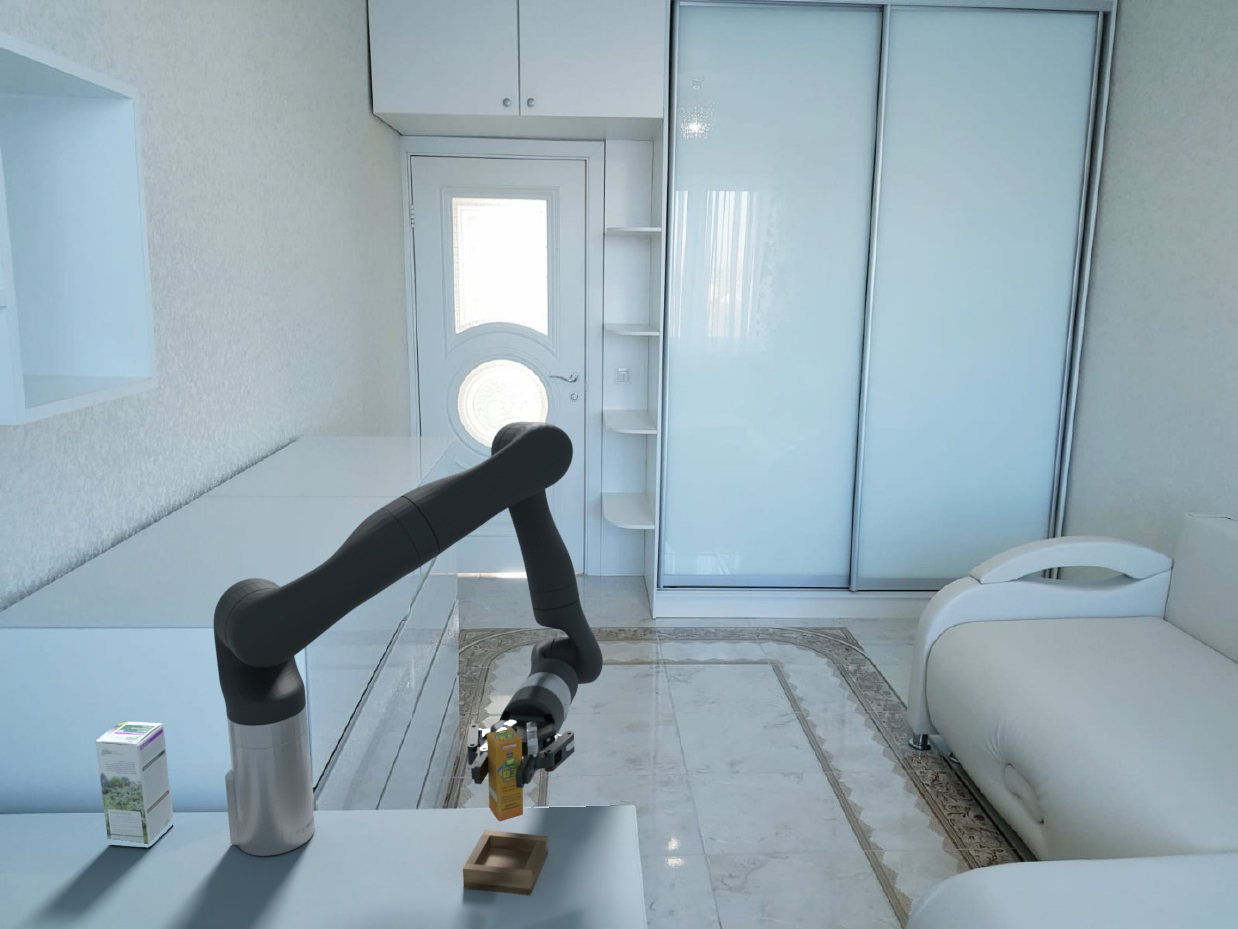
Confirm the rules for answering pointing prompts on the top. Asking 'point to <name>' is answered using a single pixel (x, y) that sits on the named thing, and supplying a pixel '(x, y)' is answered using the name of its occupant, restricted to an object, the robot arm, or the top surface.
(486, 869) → the tray
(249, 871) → the top surface
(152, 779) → the syrup box
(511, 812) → the supplement box
